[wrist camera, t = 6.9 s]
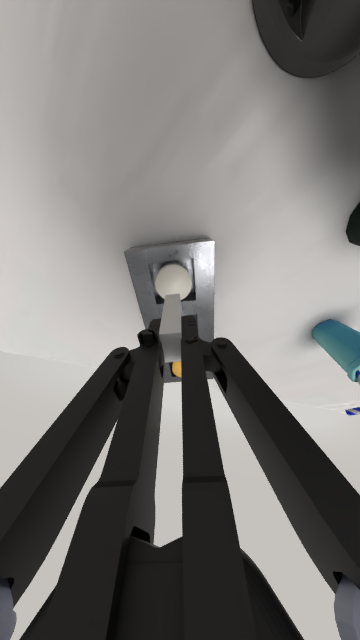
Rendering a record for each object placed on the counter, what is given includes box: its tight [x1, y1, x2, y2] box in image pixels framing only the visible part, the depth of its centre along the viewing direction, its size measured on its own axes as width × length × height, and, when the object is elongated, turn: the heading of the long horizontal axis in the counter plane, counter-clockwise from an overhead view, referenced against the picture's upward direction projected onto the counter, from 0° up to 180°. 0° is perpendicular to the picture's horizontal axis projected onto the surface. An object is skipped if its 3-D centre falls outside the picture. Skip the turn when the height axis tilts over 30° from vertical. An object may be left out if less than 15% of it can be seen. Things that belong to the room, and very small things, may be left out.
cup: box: [312, 319, 360, 416], centre depth 28 cm, size 14×8×15 cm, turn 142°
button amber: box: [172, 361, 181, 377], centre depth 33 cm, size 5×5×4 cm
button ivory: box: [155, 261, 192, 300], centre depth 24 cm, size 5×5×4 cm
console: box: [124, 238, 214, 383], centre depth 30 cm, size 28×12×4 cm, turn 6°
